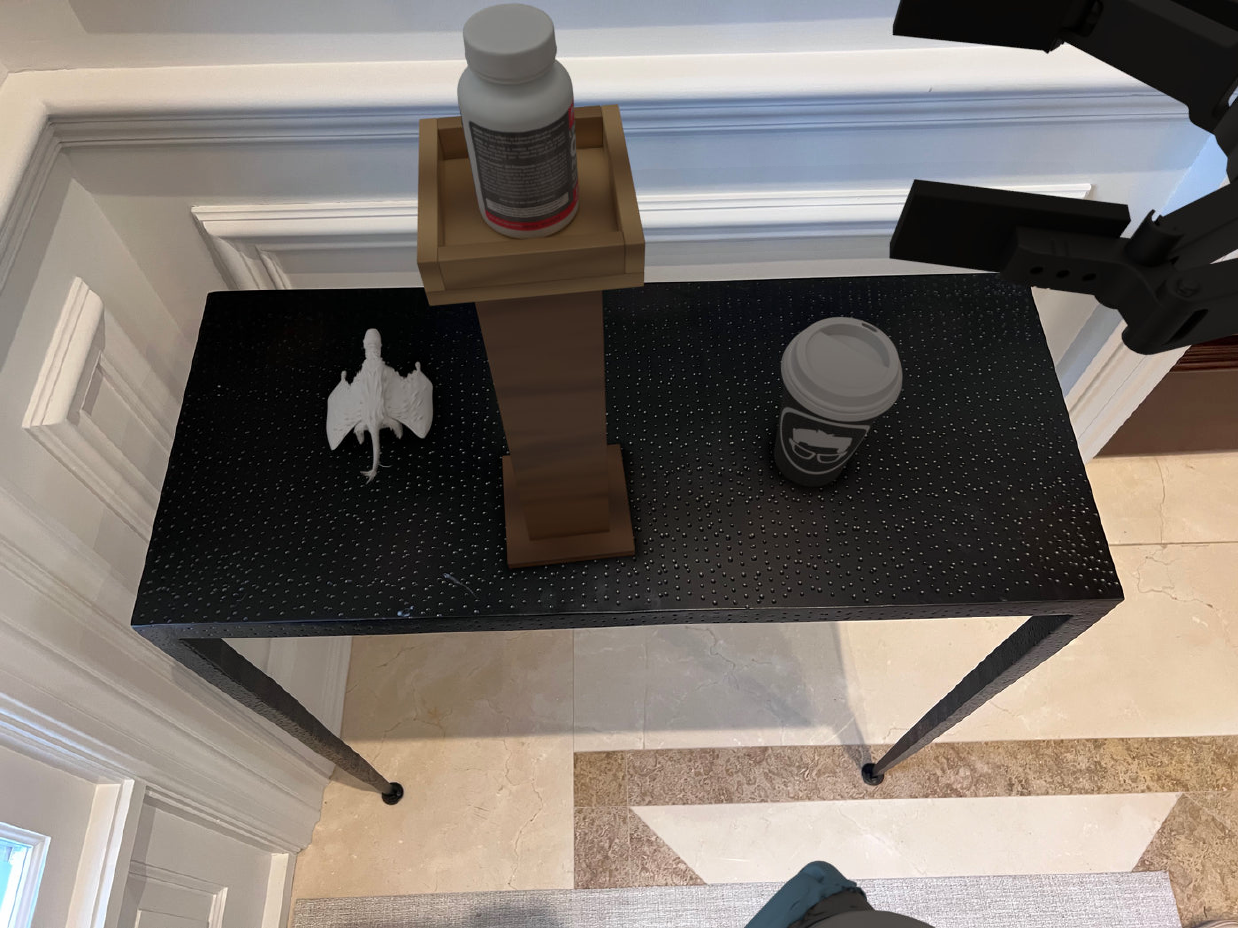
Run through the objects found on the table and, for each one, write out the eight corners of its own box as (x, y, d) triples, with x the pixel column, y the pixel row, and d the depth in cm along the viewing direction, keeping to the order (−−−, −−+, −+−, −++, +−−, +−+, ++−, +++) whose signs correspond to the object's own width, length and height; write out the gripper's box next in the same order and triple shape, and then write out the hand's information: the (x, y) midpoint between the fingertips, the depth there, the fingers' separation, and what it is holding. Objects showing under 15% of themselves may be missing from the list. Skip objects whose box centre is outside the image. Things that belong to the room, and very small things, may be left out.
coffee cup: (881, 472, 73) (936, 372, 60) (798, 518, 71) (837, 425, 58) (818, 400, 77) (856, 292, 65) (737, 441, 75) (761, 338, 62)
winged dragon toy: (438, 494, 72) (428, 471, 69) (325, 509, 71) (309, 487, 68) (431, 343, 81) (422, 316, 78) (331, 355, 81) (317, 328, 77)
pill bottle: (599, 216, 42) (594, 36, 34) (512, 257, 40) (484, 79, 32) (545, 162, 44) (527, -20, 36) (461, 199, 43) (422, 18, 34)
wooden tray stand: (635, 554, 69) (645, 242, 38) (509, 569, 68) (416, 263, 37) (619, 449, 75) (618, 103, 44) (503, 461, 74) (418, 118, 43)
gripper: (1488, -125, 31) (929, -168, 33) (1903, 380, 18) (945, 257, 20) (1337, 60, 37) (879, 14, 39) (1564, 528, 24) (866, 423, 26)
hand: (900, 96), depth 30 cm, fingers open, 13 cm apart
